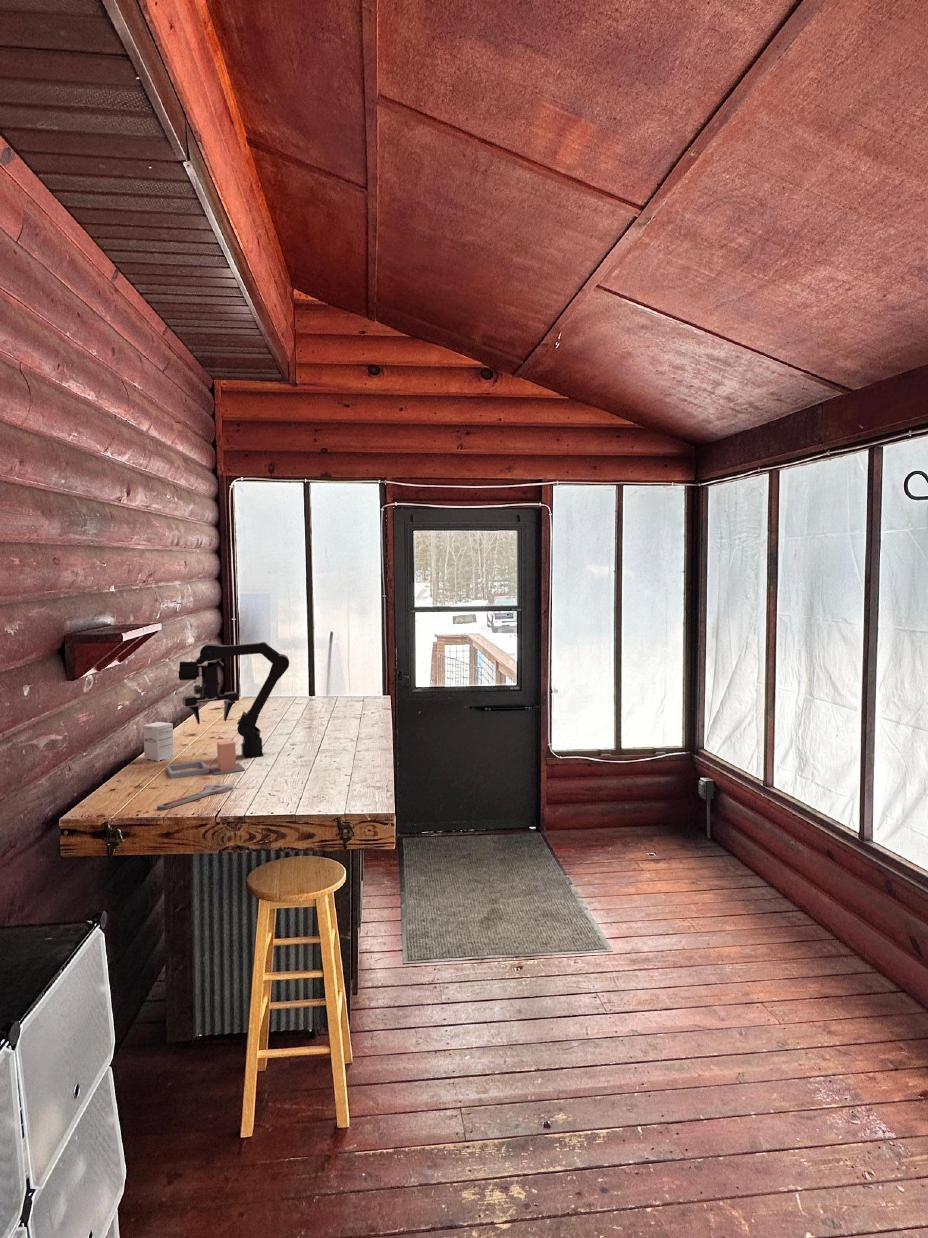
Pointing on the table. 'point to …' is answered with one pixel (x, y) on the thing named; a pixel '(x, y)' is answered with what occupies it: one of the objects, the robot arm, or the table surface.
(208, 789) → the adjustable wrench
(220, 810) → the table surface
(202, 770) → the blue-grey square frame
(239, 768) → the place mat
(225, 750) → the block
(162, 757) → the supplement box
